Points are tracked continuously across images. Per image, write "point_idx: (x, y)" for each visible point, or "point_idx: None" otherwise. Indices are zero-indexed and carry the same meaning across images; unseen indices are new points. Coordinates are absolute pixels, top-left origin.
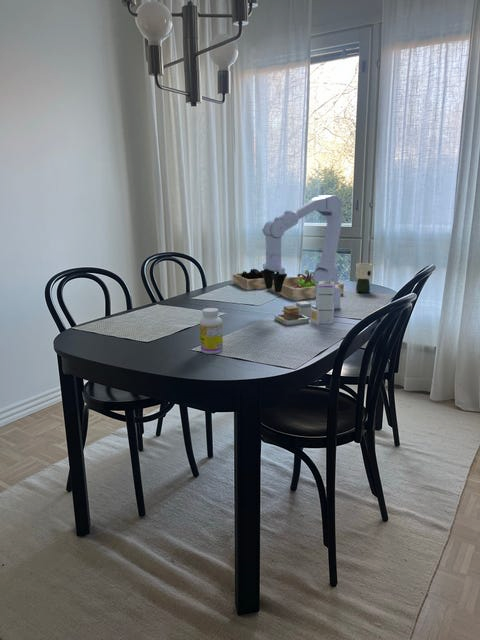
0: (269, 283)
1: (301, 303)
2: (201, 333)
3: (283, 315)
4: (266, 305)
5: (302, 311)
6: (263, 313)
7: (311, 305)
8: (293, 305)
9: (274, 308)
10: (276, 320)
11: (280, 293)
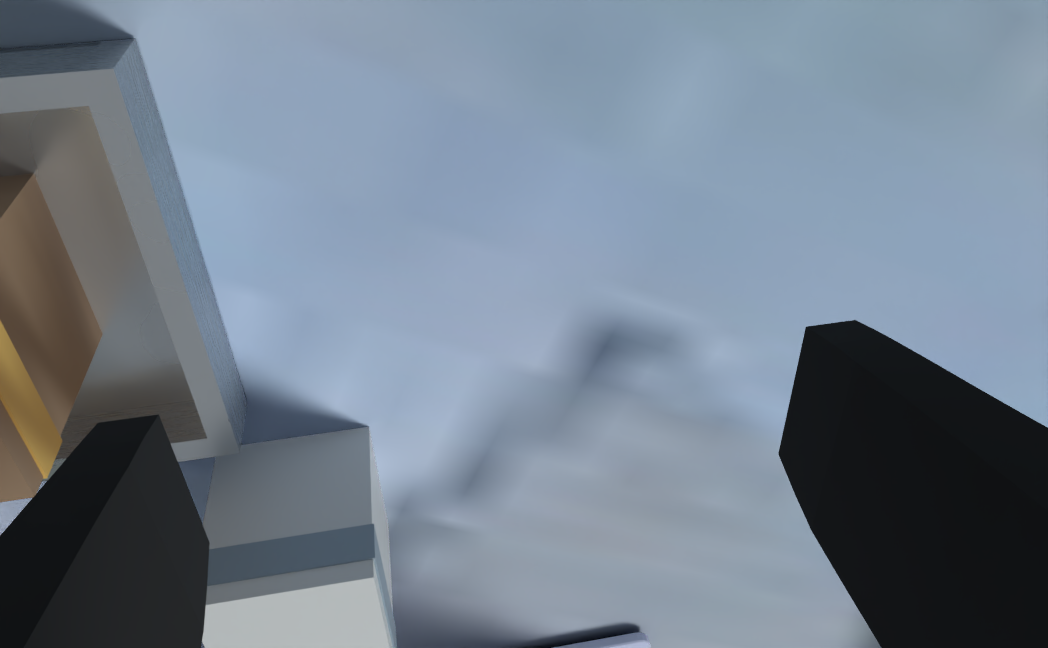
0: (883, 524)
1: (255, 617)
2: None
3: (139, 228)
4: (1042, 231)
5: (210, 522)
6: (656, 6)
7: (643, 642)
8: (24, 496)
9: (828, 278)
10: (58, 44)
11: None
